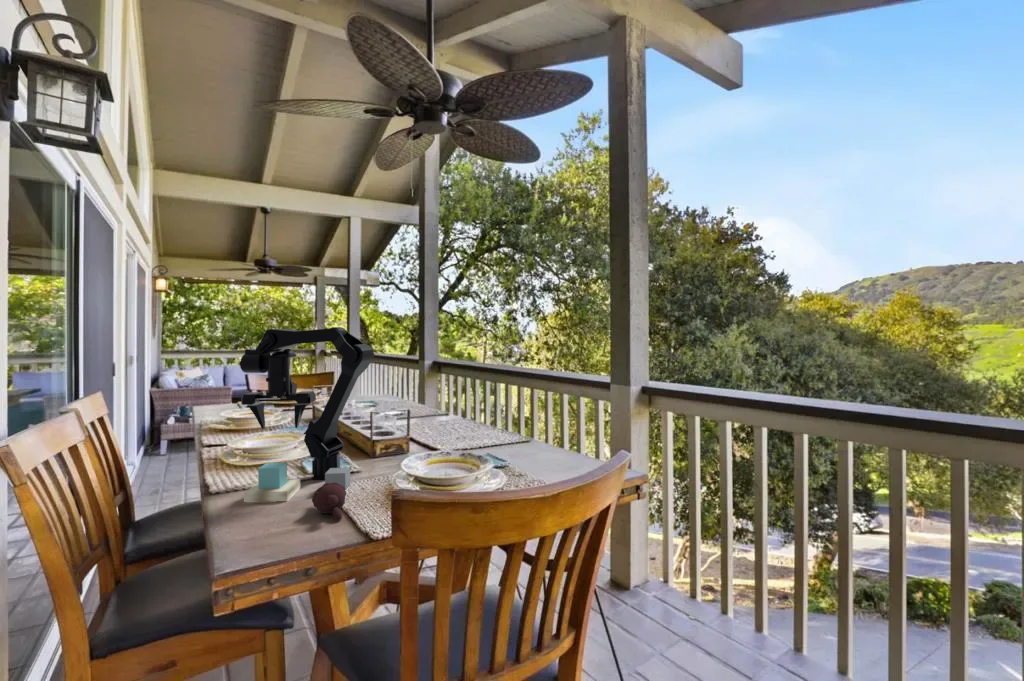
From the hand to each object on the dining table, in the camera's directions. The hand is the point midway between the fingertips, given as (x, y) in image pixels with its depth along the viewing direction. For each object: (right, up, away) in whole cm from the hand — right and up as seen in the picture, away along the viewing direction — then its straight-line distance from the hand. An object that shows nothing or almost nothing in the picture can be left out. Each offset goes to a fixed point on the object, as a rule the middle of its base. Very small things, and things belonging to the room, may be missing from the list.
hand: (280, 428), depth 147 cm
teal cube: (+6, -11, -18) cm, 22 cm away
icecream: (+25, -14, -30) cm, 41 cm away
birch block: (+6, -14, -18) cm, 24 cm away
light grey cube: (+21, -13, -14) cm, 29 cm away
